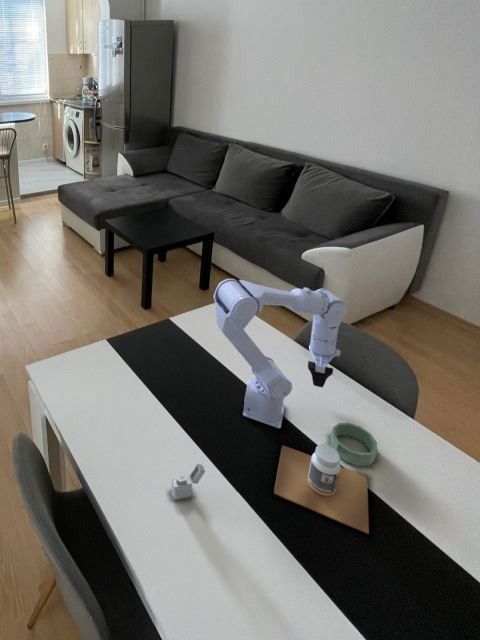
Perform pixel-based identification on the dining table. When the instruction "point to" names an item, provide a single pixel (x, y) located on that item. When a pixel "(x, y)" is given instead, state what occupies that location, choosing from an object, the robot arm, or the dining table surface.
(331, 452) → the pill bottle
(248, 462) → the dining table surface
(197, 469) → the lighter
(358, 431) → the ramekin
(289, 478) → the cork mat
